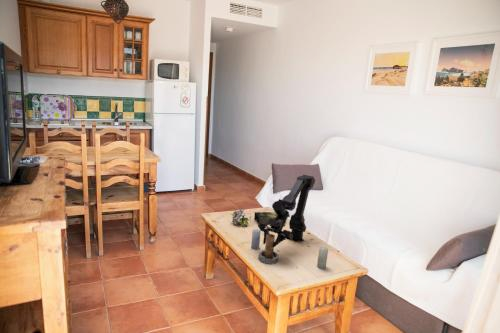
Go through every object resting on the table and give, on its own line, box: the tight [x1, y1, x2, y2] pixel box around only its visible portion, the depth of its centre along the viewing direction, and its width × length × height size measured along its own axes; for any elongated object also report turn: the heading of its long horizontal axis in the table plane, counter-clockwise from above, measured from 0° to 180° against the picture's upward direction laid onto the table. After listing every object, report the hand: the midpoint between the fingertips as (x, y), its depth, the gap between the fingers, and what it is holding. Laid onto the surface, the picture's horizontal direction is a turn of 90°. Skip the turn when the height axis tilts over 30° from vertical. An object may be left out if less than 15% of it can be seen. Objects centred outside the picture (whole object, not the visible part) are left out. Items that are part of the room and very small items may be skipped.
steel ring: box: [257, 249, 280, 265], centre depth 181 cm, size 10×10×2 cm
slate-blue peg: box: [250, 228, 262, 251], centre depth 192 cm, size 4×4×10 cm
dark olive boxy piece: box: [253, 211, 287, 226], centre depth 233 cm, size 20×10×6 cm, turn 105°
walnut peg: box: [264, 233, 276, 258], centre depth 180 cm, size 4×4×13 cm
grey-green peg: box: [316, 246, 329, 270], centre depth 176 cm, size 4×4×10 cm
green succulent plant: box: [232, 208, 252, 228], centre depth 225 cm, size 11×11×12 cm
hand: (268, 245), depth 178 cm, fingers open, 5 cm apart
